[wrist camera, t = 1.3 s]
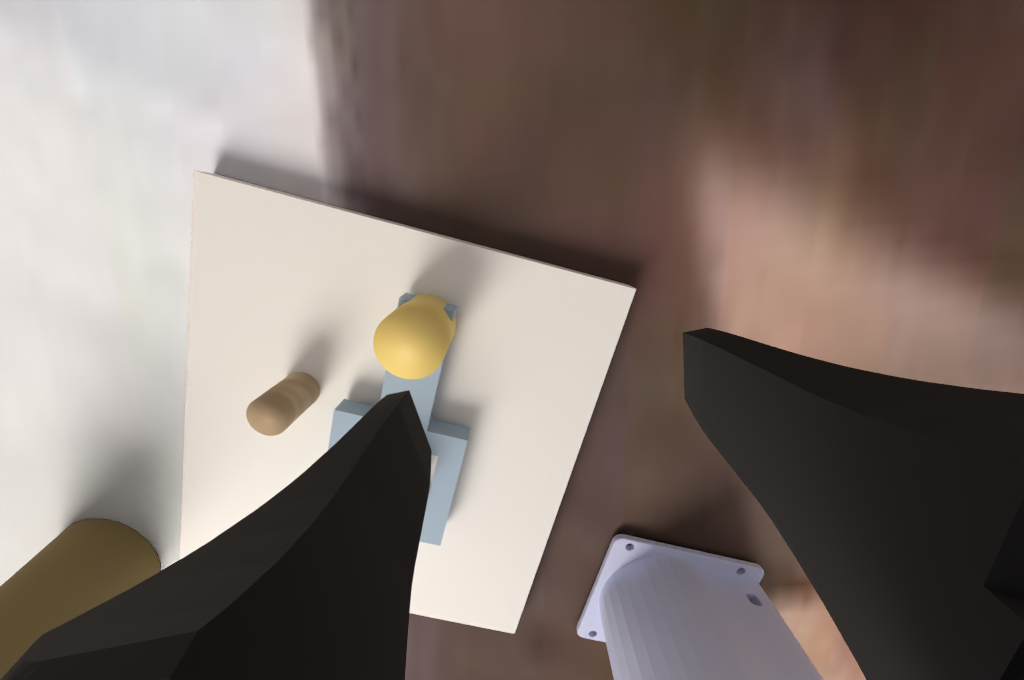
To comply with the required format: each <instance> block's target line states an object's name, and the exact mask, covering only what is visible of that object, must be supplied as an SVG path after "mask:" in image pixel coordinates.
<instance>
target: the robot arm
mask: <svg viewBox="0 0 1024 680" xmlns="http://www.w3.org/2000/svg"><path fill="white" fill-rule="evenodd" d="M683 351H684V388H685V400H686V402H687V404H688V406H689V408H690V409H691V411H692V413H693V415H694V417H695V418H696V420H697V422H698V423H699V425H700V427H701V428H702V430H703V431H704V433H705V434H706V435H707V437H708V438H709V439H710V441H711V442H712V443H713V444H714V446H715V447H716V448H717V450H718V451H719V452H720V453H721V455H722V456H723V457H724V459H725V460H726V461H727V462H728V464H729V465H730V466H731V467H732V469H733V470H734V471H735V472H736V474H737V475H738V476H739V477H740V479H741V480H742V481H743V482H744V484H745V485H746V486H747V488H748V489H749V490H750V491H751V493H752V494H753V495H754V496H755V498H756V499H757V500H758V502H759V503H760V504H761V506H762V507H763V508H764V510H765V511H766V513H767V514H768V515H769V517H770V518H771V520H772V521H773V523H774V524H775V526H776V527H777V529H778V530H779V532H780V534H781V535H782V537H783V538H784V540H785V541H786V543H787V545H788V546H789V548H790V549H791V551H792V552H793V554H794V556H795V557H796V559H797V560H798V562H799V564H800V565H801V567H802V569H803V570H804V572H805V574H806V575H807V577H808V579H809V580H810V582H811V584H812V585H813V587H814V588H815V590H816V592H817V593H818V595H819V597H820V598H821V600H822V602H823V603H824V605H825V607H826V609H827V610H828V612H829V614H830V616H831V617H832V619H833V621H834V623H835V624H836V626H837V628H838V630H839V631H840V633H841V635H842V637H843V638H844V640H845V642H846V644H847V645H848V647H849V649H850V651H851V652H852V654H853V656H854V658H855V659H856V661H857V663H858V665H859V667H860V669H861V670H862V672H863V674H864V676H865V678H866V680H1024V394H1019V393H1010V392H1000V391H991V390H982V389H974V388H966V387H959V386H952V385H944V384H937V383H930V382H923V381H917V380H911V379H905V378H899V377H894V376H889V375H884V374H879V373H874V372H869V371H864V370H859V369H854V368H850V367H846V366H841V365H837V364H833V363H830V362H826V361H822V360H818V359H814V358H810V357H807V356H803V355H799V354H796V353H792V352H789V351H786V350H782V349H779V348H776V347H772V346H769V345H766V344H763V343H759V342H756V341H753V340H750V339H747V338H743V337H740V336H737V335H733V334H730V333H727V332H723V331H719V330H715V329H710V328H704V329H699V330H694V331H690V332H685V333H683ZM431 454H432V450H431V448H430V445H429V442H428V440H427V437H426V434H425V431H424V429H423V426H422V423H421V421H420V418H419V415H418V412H417V410H416V407H415V404H414V402H413V399H412V396H411V394H410V391H409V390H407V391H403V392H398V393H393V394H388V395H386V396H385V397H383V398H382V399H381V400H380V401H379V402H378V403H377V404H375V405H374V406H373V407H372V408H371V409H370V410H369V411H368V412H367V413H366V414H365V415H364V416H363V417H362V418H361V419H360V420H359V421H358V422H357V423H356V424H355V425H354V426H353V427H352V428H351V429H350V430H349V431H348V432H347V433H346V434H345V435H344V436H343V437H342V438H341V439H340V440H339V441H338V442H337V443H336V444H334V445H333V446H332V447H331V448H330V449H329V450H328V451H327V452H326V453H324V454H323V455H322V456H321V457H320V458H319V459H318V460H317V461H316V462H315V463H313V464H312V465H311V466H310V467H309V468H308V469H307V470H306V471H305V472H303V473H302V474H301V475H300V476H299V477H298V478H296V479H295V480H294V481H293V482H291V483H290V484H289V485H288V486H287V487H285V488H284V489H283V490H281V491H280V492H279V493H277V494H276V495H275V496H274V497H272V498H271V499H270V500H268V501H267V502H266V503H264V504H263V505H262V506H260V507H259V508H258V509H256V510H255V511H253V512H252V513H250V514H249V515H248V516H246V517H245V518H243V519H242V520H240V521H239V522H237V523H236V524H234V525H233V526H231V527H230V528H229V529H227V530H226V531H224V532H223V533H221V534H220V535H218V536H217V537H215V538H214V539H212V540H211V541H209V542H208V543H206V544H205V545H203V546H201V547H200V548H198V549H197V550H195V551H193V552H192V553H190V554H188V555H187V556H185V557H184V558H182V559H180V560H179V561H177V562H175V563H174V564H172V565H170V566H169V567H167V568H165V569H163V570H162V571H160V572H158V573H157V574H155V575H153V576H151V577H150V578H148V579H146V580H144V581H143V582H141V583H139V584H137V585H136V586H134V587H132V588H130V589H128V590H127V591H125V592H123V593H121V594H119V595H117V596H115V597H113V598H111V599H109V600H108V601H106V602H104V603H102V604H100V605H98V606H96V607H94V608H92V609H91V610H89V611H87V612H85V613H83V614H81V615H79V616H77V617H75V618H73V619H72V620H70V621H68V622H66V623H64V624H62V625H60V626H58V627H56V628H54V629H52V630H50V631H48V632H46V633H44V634H43V635H42V636H41V637H39V638H38V639H37V640H36V641H35V642H34V643H33V644H32V645H31V646H30V647H29V649H28V650H27V651H26V652H25V653H24V654H23V655H22V656H21V657H20V658H19V659H18V661H17V662H16V663H15V664H14V665H13V666H12V667H11V668H10V669H9V670H8V672H7V673H6V674H5V675H4V676H3V677H2V678H1V679H0V680H405V666H406V651H407V636H408V624H409V612H410V601H411V590H412V582H413V575H414V568H415V563H416V558H417V553H418V547H419V542H420V537H421V532H422V526H423V521H424V516H425V511H426V505H427V500H428V494H429V488H430V478H431ZM627 544H631V545H629V546H626V545H627ZM739 568H740V569H739ZM763 576H764V570H763V569H762V568H761V566H760V565H759V564H756V563H751V562H747V561H742V560H738V559H733V558H729V557H724V556H720V555H715V554H711V553H706V552H701V551H697V550H692V549H688V548H683V547H679V546H674V545H670V544H665V543H661V542H656V541H652V540H647V539H643V538H638V537H634V536H629V535H625V534H618V535H616V536H614V537H613V539H612V541H611V543H610V546H609V548H608V551H607V553H606V556H605V558H604V561H603V563H602V565H601V568H600V570H599V573H598V575H597V578H596V580H595V583H594V585H593V587H592V590H591V592H590V595H589V597H588V600H587V602H586V605H585V607H584V609H583V612H582V614H581V617H580V619H579V622H578V624H577V633H578V635H579V636H580V637H583V638H588V639H593V640H598V641H603V642H606V645H607V649H608V654H609V659H610V663H611V668H612V672H613V677H614V680H823V678H822V677H821V675H820V674H819V672H818V671H817V669H816V668H815V666H814V665H813V663H812V662H811V660H810V659H809V657H808V656H807V654H806V653H805V651H804V650H803V648H802V647H801V645H800V644H799V642H798V641H797V639H796V638H795V636H794V635H793V633H792V632H791V630H790V629H789V627H788V626H787V624H786V623H785V621H784V620H783V618H782V617H781V615H780V614H779V612H778V611H777V609H776V608H775V606H774V605H773V603H772V602H771V601H770V599H769V598H768V596H767V595H766V593H765V592H764V590H763V589H762V587H761V586H760V584H759V583H760V581H761V580H762V578H763Z"/></svg>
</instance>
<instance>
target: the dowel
mask: <svg viewBox="0 0 1024 680" xmlns="http://www.w3.org/2000/svg"><path fill="white" fill-rule="evenodd" d="M319 395H320V387H319V384H318V382H317V381H316V380H315V379H314V378H313V377H312V376H311V375H309V374H307V373H304V372H295V373H292V374H290V375H288V376H287V377H286V378H284V379H283V380H281V381H280V382H279V383H277V384H276V385H275V386H273V387H272V388H270V389H269V390H268V391H266V392H265V393H263V394H262V395H261V396H259V397H258V398H256V399H255V400H254V401H252V402H251V403H250V404H249V405H248V407H247V410H246V417H247V420H248V422H249V424H250V426H251V427H252V428H253V429H254V430H256V431H257V432H259V433H261V434H263V435H268V436H275V435H278V434H281V433H282V432H284V431H285V430H286V429H287V428H288V427H289V426H290V425H291V424H292V423H293V422H294V421H295V420H296V419H297V418H298V417H299V416H300V415H302V414H303V413H304V412H305V411H306V410H307V409H308V408H309V407H310V406H311V405H312V404H313V403H314V402H315V401H316V400H317V399H318V397H319Z"/></svg>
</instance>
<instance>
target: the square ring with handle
mask: <svg viewBox="0 0 1024 680" xmlns="http://www.w3.org/2000/svg"><path fill="white" fill-rule="evenodd" d="M456 310H457V306H456V305H453V304H449V303H447V302H445V301H444V300H443V299H441V298H439V297H437V296H434V295H430V294H420V295H413V294H410V293H405V294H404V295H402V296H401V297H400V298H399V302H398V307H397V309H395V310H394V311H393V312H392V313H390V314H389V315H388V316H387V317H386V318H384V319H383V320H382V321H381V322H380V324H379V325H378V327H377V328H376V331H375V333H374V338H373V347H374V352H375V355H376V357H377V359H378V361H379V362H380V364H381V365H382V366H383V367H384V368H385V369H386V372H385V377H384V382H383V388H382V393H381V399H382V398H383V397H385V396H386V395H388V394H393V393H398V392H403V391H407V390H409V391H410V394H411V396H412V399H413V402H414V404H415V407H416V410H417V412H418V415H419V418H420V421H421V423H422V426H423V429H424V431H425V434H426V437H427V440H428V442H429V445H430V448H431V450H432V454H431V455H434V456H438V459H437V463H436V467H435V472H434V476H433V480H432V484H431V488H430V492H429V496H428V501H427V505H426V511H425V516H424V521H423V526H422V532H421V537H420V542H424V543H429V544H434V545H438V546H440V545H441V542H442V538H443V534H444V530H445V526H446V522H447V519H448V515H449V511H450V507H451V503H452V500H453V496H454V492H455V488H456V484H457V480H458V477H459V473H460V469H461V465H462V461H463V458H464V454H465V450H466V446H467V442H468V438H469V433H470V428H467V427H463V426H458V425H454V424H450V423H446V422H441V421H437V420H433V419H432V415H433V411H434V406H435V402H436V398H437V393H438V389H439V384H440V380H441V376H442V371H443V367H444V363H445V358H446V354H447V350H448V348H449V346H450V344H451V342H452V340H453V338H454V336H455V333H456V329H457V321H456V316H455V315H456ZM381 399H380V400H381ZM372 407H373V405H369V404H364V403H360V402H356V401H352V400H347V399H343V400H342V402H341V403H340V404H339V405H338V406H337V407H336V408H335V409H334V413H333V420H332V427H331V433H330V440H329V446H328V450H329V449H330V448H331V447H332V446H333V445H334V444H336V443H337V442H338V441H339V440H340V439H341V438H342V437H343V436H344V435H345V434H346V433H347V432H348V431H349V430H350V429H351V428H352V427H353V426H354V425H355V424H356V423H357V422H358V421H359V420H360V419H361V418H362V417H363V416H364V415H365V414H366V413H367V412H368V411H369V410H370V409H371V408H372Z"/></svg>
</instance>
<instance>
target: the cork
mask: <svg viewBox="0 0 1024 680" xmlns="http://www.w3.org/2000/svg"><path fill="white" fill-rule="evenodd" d="M160 569H161V564H160V561H159V558H158V555H157V553H156V551H155V550H154V548H153V547H152V546H151V544H150V543H149V541H148V540H146V539H145V538H144V537H143V536H141V535H140V534H139V533H138V532H137V531H135V530H133V529H131V528H129V527H127V526H125V525H123V524H121V523H119V522H114V521H110V520H106V519H85V520H82V521H79V522H76V523H73V524H72V525H71V526H69V527H68V528H67V529H66V530H64V531H63V532H62V533H61V534H60V535H59V536H57V537H56V538H55V539H54V540H53V541H52V542H51V543H49V544H48V545H47V546H46V547H45V548H44V549H43V550H41V551H40V552H39V553H38V554H37V555H36V556H35V557H33V558H32V559H31V560H30V561H29V562H28V563H27V564H26V565H24V566H23V567H22V568H21V569H20V570H19V571H18V572H16V573H15V574H14V575H13V576H12V577H11V578H10V579H8V580H7V581H6V582H5V583H4V584H3V585H2V586H0V679H1V678H2V677H3V676H4V675H5V674H6V673H7V672H8V670H9V669H10V668H11V667H12V666H13V665H14V664H15V663H16V662H17V661H18V659H19V658H20V657H21V656H22V655H23V654H24V653H25V652H26V651H27V650H28V649H29V647H30V646H31V645H32V644H33V643H34V642H35V641H36V640H37V639H38V638H39V637H41V636H42V635H43V634H44V633H46V632H48V631H50V630H52V629H54V628H56V627H58V626H60V625H62V624H64V623H66V622H68V621H70V620H72V619H73V618H75V617H77V616H79V615H81V614H83V613H85V612H87V611H89V610H91V609H92V608H94V607H96V606H98V605H100V604H102V603H104V602H106V601H108V600H109V599H111V598H113V597H115V596H117V595H119V594H121V593H123V592H125V591H127V590H128V589H130V588H132V587H134V586H136V585H137V584H139V583H141V582H143V581H144V580H146V579H148V578H150V577H151V576H153V575H155V574H157V573H158V572H160Z"/></svg>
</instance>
